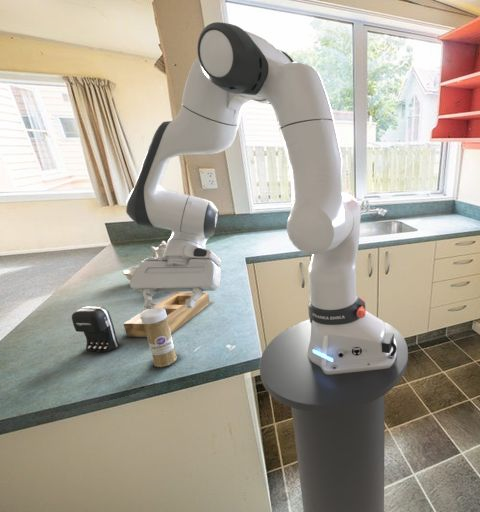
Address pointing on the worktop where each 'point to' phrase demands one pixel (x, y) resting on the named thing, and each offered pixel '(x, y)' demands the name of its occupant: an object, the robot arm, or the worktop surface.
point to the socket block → (169, 313)
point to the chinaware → (156, 253)
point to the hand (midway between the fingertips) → (168, 307)
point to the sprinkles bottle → (159, 336)
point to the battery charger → (96, 328)
